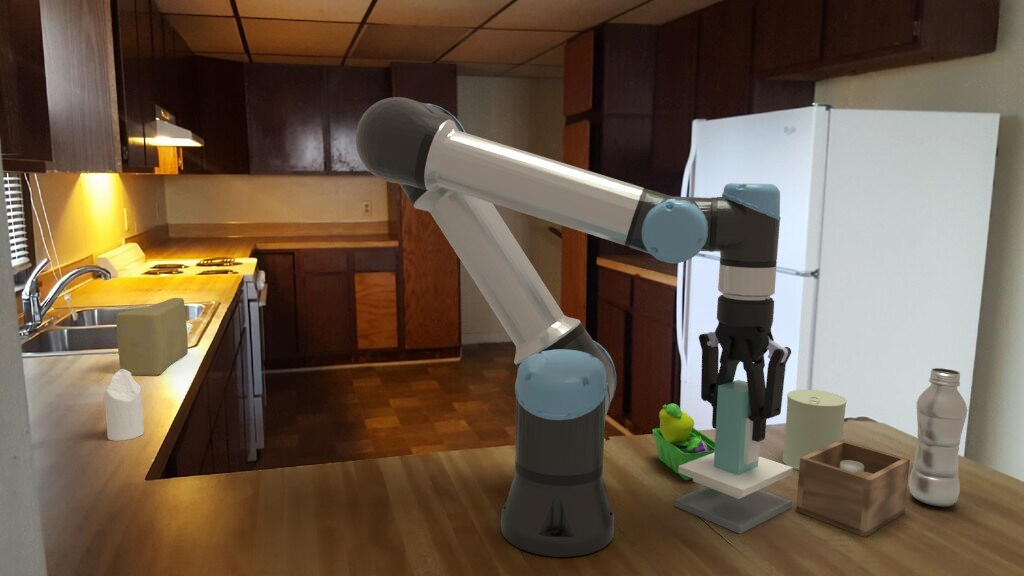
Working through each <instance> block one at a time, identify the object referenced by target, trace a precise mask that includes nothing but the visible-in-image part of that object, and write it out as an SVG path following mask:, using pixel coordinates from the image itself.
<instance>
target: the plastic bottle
mask: <svg viewBox="0 0 1024 576" xmlns="http://www.w3.org/2000/svg"><path fill="white" fill-rule="evenodd" d="M960 379H961V372H960V371H957V370H955V369H950V368H943V367H935V368H931V370H930V377H929V378H928V380H929V381H928V382H929V383H931V384H930V385H929V386H928V387H927V388H926V389H925V390H924V391H923V392H922V393H921V394H920V395H919V397H918V399H917V401H916V419H917V422H916V423H917V440H916V441H917V442H916V443H917V444H916V446H917V447H916V451H915V456H914V461H913V466H912V469H911V471H910V475H909V477H908V487H909V491H910V494H911V495H912V496H913V498H914V499H915V500H918V502H921V503H924V504H927V505H930V506H934V507H942V508H943V507H944V508H945V507H951V506H953V505H954V504H955V503H957V501H958V498H959V495H960V493H961V490H960V478H959V477H960V476H959V450H960V447H959V446H960V444H961V438H962V433H963V430H964V426H965V422H966V418H967V415H968V407H967V406H968V405H967V403H966V401H965V400H964V397H963V395H962V394H961V393H960V391H959V390H958V387H960V386H961V385H960V384H961V382H960Z"/></svg>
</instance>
